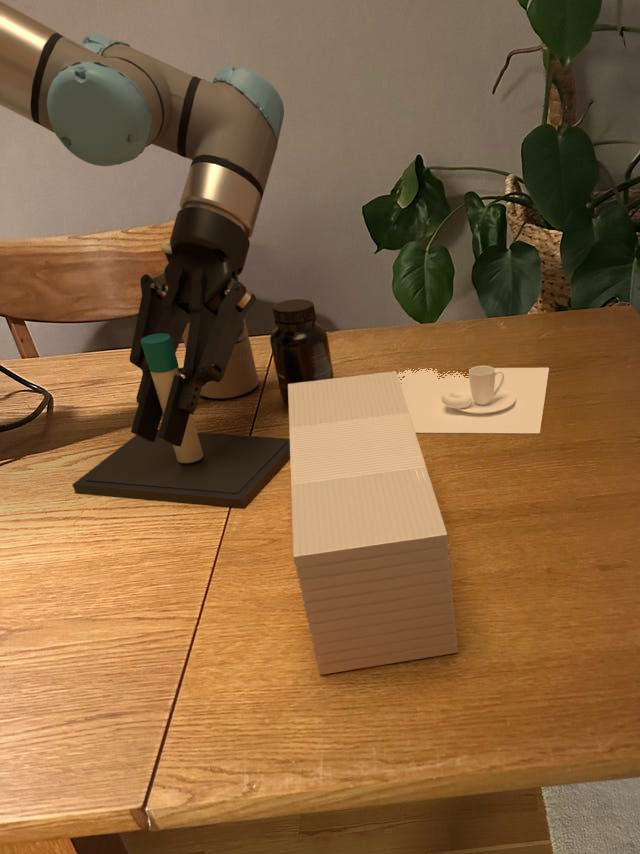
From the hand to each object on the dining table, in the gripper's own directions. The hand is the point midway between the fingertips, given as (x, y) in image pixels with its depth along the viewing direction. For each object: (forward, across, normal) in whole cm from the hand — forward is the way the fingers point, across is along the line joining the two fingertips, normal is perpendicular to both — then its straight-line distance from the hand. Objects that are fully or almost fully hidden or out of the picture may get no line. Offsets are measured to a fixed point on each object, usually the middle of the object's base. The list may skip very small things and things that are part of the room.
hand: (156, 438), depth 86 cm
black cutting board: (+1, 0, -6) cm, 7 cm away
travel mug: (-13, +11, -21) cm, 27 cm away
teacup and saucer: (-18, -21, -25) cm, 37 cm away
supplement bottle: (-13, -3, -20) cm, 24 cm away
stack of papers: (+8, -27, 0) cm, 28 cm away
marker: (0, 0, -6) cm, 6 cm away
